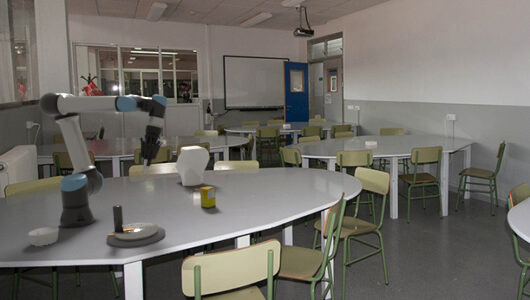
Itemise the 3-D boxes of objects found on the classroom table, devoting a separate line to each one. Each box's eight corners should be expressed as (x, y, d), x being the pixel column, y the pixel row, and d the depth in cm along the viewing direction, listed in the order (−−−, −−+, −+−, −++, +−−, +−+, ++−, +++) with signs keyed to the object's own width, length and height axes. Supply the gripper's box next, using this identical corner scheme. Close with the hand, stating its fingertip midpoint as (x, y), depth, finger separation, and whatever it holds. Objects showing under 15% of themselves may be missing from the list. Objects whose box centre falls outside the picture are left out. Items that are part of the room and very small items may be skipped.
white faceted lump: (183, 187, 263) (181, 150, 259) (175, 180, 287) (173, 146, 284) (213, 184, 271) (211, 148, 268) (203, 177, 296) (201, 144, 292)
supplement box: (208, 204, 219) (207, 185, 217) (216, 206, 215) (215, 187, 214) (200, 207, 214) (199, 187, 213) (207, 209, 210) (207, 189, 209)
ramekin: (23, 246, 162) (21, 233, 161) (46, 237, 172) (45, 225, 171) (42, 249, 158) (41, 236, 157) (65, 239, 168) (64, 228, 167)
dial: (156, 225, 180) (155, 197, 179) (159, 237, 163) (157, 207, 162) (115, 229, 175) (113, 201, 173) (113, 243, 158) (111, 212, 156)
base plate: (96, 247, 158) (95, 242, 158) (122, 227, 182) (122, 223, 182) (153, 247, 156) (152, 243, 156) (172, 228, 180) (172, 224, 180)
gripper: (139, 123, 194) (129, 169, 193) (159, 126, 188) (149, 174, 187) (149, 125, 201) (140, 170, 199) (169, 128, 195) (160, 175, 194)
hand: (144, 172), depth 193 cm, fingers closed
